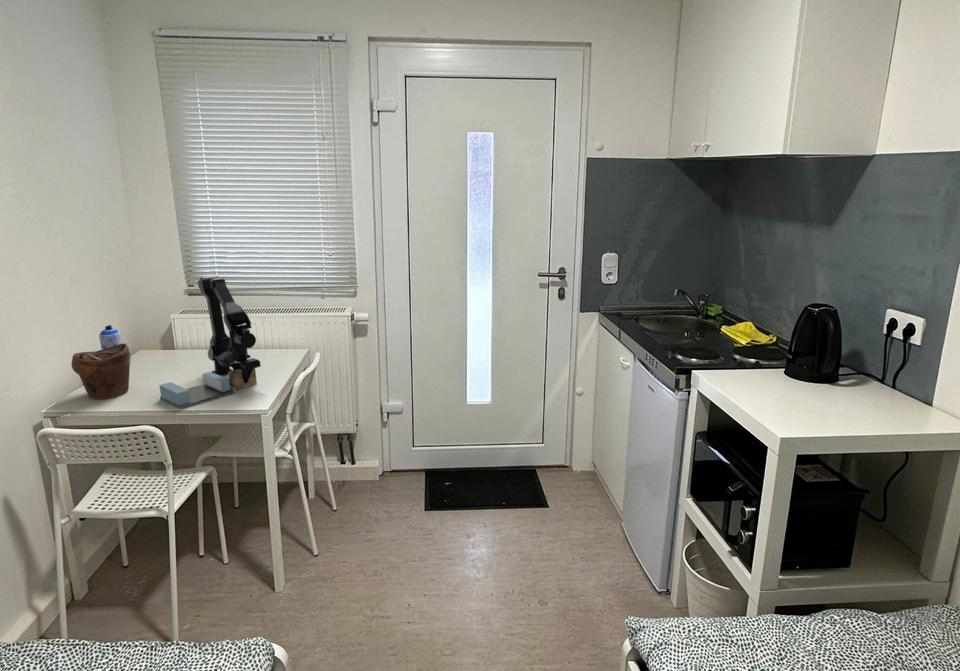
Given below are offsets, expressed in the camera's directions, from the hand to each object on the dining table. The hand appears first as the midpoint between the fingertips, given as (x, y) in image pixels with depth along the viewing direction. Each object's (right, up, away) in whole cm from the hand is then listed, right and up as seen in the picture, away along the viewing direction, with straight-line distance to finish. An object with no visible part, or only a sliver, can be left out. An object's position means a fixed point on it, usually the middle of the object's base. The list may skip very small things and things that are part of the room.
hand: (242, 381), depth 241 cm
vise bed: (-12, -4, -11) cm, 17 cm away
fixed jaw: (-17, -5, -17) cm, 25 cm away
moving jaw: (-8, -2, -6) cm, 10 cm away
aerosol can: (-58, +2, +16) cm, 60 cm away
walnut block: (0, -1, 0) cm, 1 cm away
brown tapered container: (-48, -4, -8) cm, 48 cm away
